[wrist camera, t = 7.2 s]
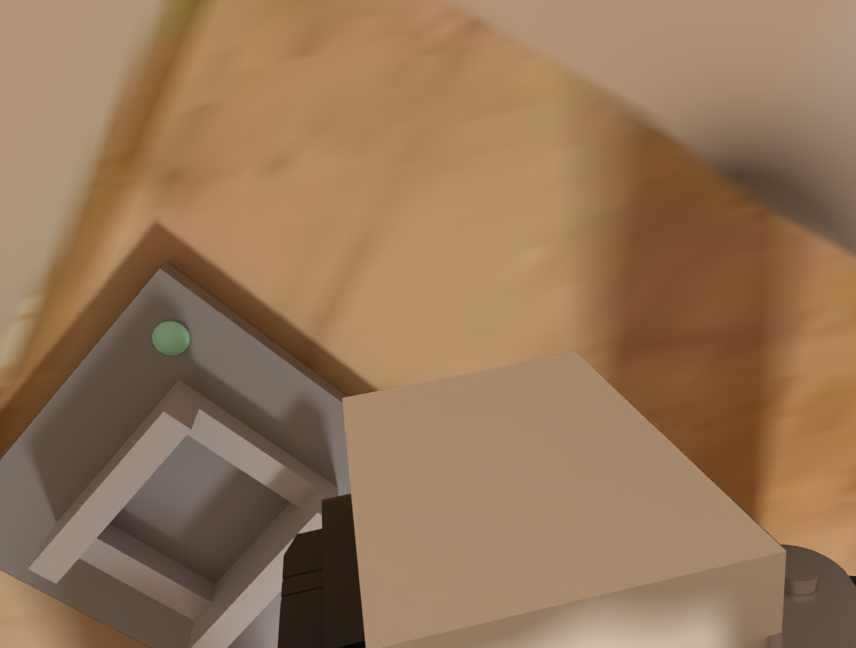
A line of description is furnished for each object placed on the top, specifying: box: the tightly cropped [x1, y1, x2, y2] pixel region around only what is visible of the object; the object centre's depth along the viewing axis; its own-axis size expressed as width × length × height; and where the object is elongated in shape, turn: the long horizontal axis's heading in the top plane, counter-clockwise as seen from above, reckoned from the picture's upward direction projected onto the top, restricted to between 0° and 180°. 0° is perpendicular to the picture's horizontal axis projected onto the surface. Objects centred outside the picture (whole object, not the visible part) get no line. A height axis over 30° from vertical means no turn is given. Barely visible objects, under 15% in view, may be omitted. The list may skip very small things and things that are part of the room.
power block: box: [0, 262, 351, 648], centre depth 29 cm, size 18×15×4 cm
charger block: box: [342, 352, 786, 648], centre depth 10 cm, size 4×4×6 cm
